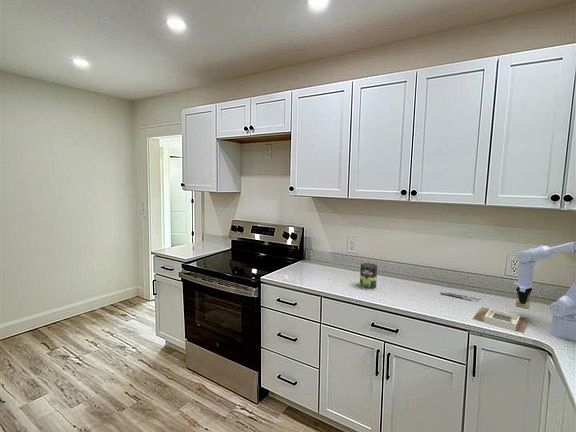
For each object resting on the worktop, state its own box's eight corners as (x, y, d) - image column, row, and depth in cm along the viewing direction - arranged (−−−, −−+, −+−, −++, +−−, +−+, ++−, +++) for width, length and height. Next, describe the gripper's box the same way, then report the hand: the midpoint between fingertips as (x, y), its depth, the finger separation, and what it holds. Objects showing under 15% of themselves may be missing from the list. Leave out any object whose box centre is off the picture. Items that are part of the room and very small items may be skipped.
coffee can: (374, 291, 187) (375, 268, 185) (357, 288, 192) (358, 266, 190) (378, 286, 196) (379, 264, 194) (361, 283, 201) (362, 262, 199)
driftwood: (438, 295, 183) (438, 291, 183) (441, 292, 188) (441, 288, 188) (479, 304, 170) (479, 300, 170) (480, 300, 176) (481, 297, 175)
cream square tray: (489, 314, 154) (490, 308, 153) (519, 322, 146) (520, 316, 145) (484, 322, 145) (484, 316, 145) (515, 330, 137) (516, 324, 137)
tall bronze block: (516, 305, 152) (517, 289, 151) (529, 308, 148) (530, 291, 148) (515, 306, 150) (517, 290, 149) (528, 309, 147) (530, 293, 146)
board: (529, 320, 149) (529, 318, 149) (523, 334, 135) (524, 333, 135) (481, 308, 163) (481, 306, 163) (471, 320, 149) (472, 318, 148)
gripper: (517, 270, 155) (515, 296, 157) (512, 276, 145) (510, 304, 146) (535, 273, 151) (532, 300, 152) (531, 280, 140) (529, 308, 142)
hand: (522, 302), depth 149 cm, fingers closed on tall bronze block, 2 cm apart
